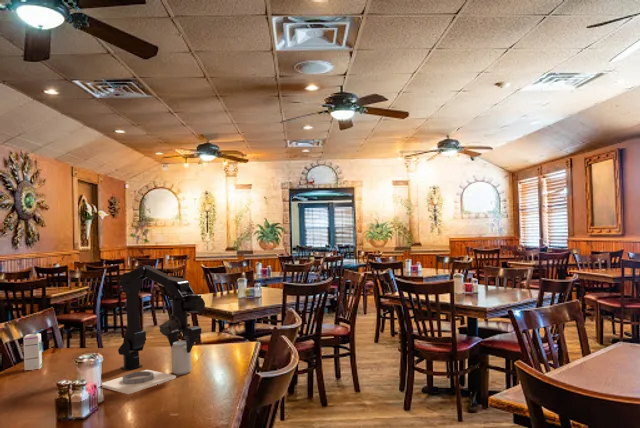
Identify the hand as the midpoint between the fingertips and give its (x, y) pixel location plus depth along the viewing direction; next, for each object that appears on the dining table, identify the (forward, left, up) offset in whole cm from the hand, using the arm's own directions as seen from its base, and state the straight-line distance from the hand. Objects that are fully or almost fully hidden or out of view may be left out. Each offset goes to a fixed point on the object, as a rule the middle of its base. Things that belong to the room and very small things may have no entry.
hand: (181, 351), depth 187 cm
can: (0, 0, -8) cm, 9 cm away
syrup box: (-65, -26, -8) cm, 70 cm away
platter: (-5, -16, -8) cm, 19 cm away
